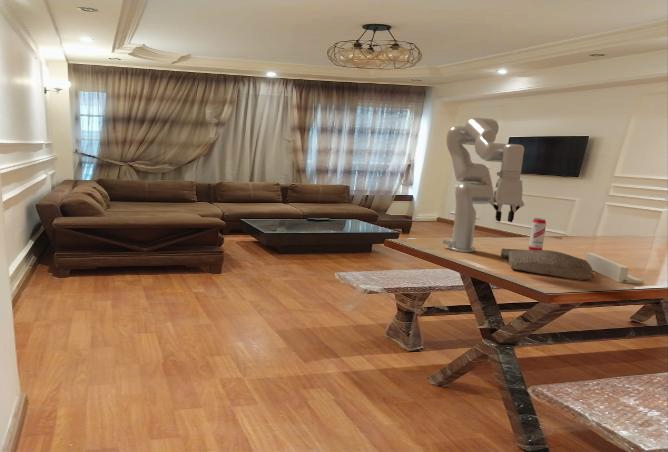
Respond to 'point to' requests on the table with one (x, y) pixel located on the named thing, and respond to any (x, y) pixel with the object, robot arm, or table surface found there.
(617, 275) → the rail
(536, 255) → the stone tablet
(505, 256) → the roller
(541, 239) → the beer can
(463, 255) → the table surface
